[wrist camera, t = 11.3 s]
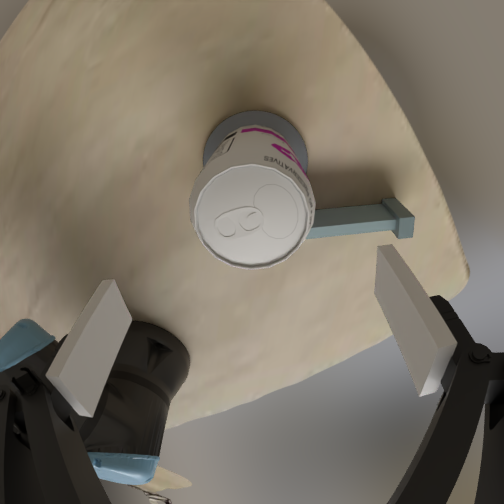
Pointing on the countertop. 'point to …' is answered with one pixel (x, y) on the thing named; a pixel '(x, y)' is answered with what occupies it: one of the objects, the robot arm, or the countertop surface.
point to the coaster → (262, 120)
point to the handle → (363, 220)
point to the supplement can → (252, 200)
